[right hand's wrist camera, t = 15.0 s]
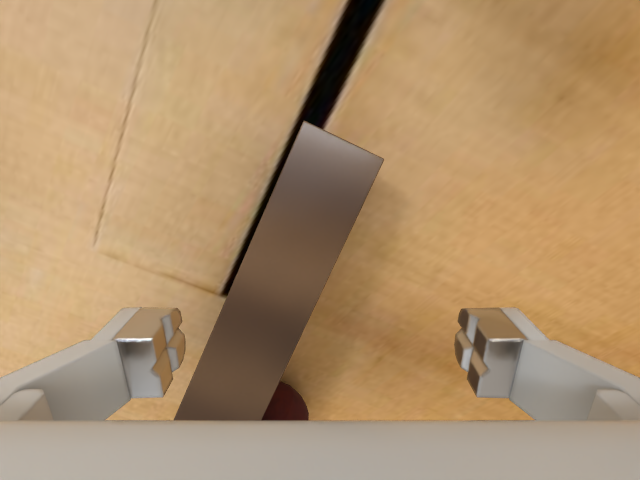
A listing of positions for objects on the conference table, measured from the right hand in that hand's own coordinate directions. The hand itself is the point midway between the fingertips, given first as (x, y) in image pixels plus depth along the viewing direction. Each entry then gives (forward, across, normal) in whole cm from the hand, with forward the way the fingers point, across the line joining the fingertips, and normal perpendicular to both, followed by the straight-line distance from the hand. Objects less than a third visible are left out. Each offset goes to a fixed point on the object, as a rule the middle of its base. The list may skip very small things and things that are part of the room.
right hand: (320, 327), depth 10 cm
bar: (+20, -4, -10) cm, 23 cm away
